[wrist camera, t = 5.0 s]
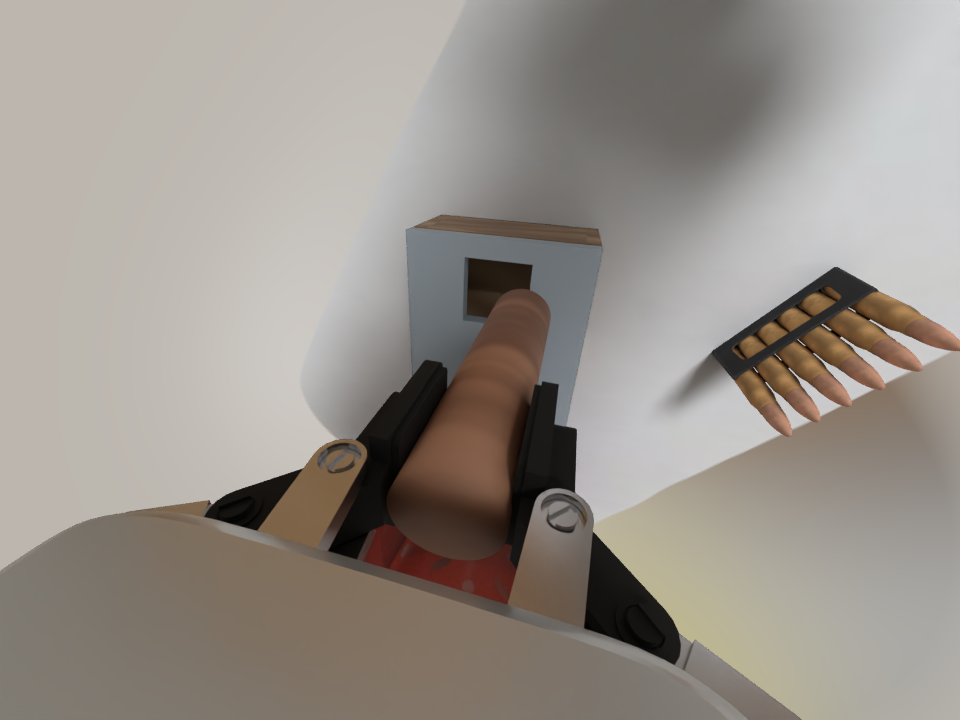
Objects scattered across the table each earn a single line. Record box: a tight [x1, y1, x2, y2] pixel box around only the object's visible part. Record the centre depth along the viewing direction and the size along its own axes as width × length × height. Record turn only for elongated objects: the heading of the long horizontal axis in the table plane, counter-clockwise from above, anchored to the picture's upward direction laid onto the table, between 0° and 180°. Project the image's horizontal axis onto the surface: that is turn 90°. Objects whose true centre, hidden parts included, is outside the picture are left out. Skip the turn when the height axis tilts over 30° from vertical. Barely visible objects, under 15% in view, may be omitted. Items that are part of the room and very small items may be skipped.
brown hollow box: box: [414, 215, 602, 318], centre depth 34 cm, size 16×14×7 cm
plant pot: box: [363, 524, 517, 605], centre depth 40 cm, size 19×19×17 cm
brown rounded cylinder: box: [387, 289, 551, 560], centre depth 14 cm, size 3×3×12 cm
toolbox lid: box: [406, 227, 603, 426], centre depth 28 cm, size 16×14×6 cm
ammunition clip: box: [712, 267, 960, 437], centre depth 27 cm, size 11×2×12 cm, turn 142°
